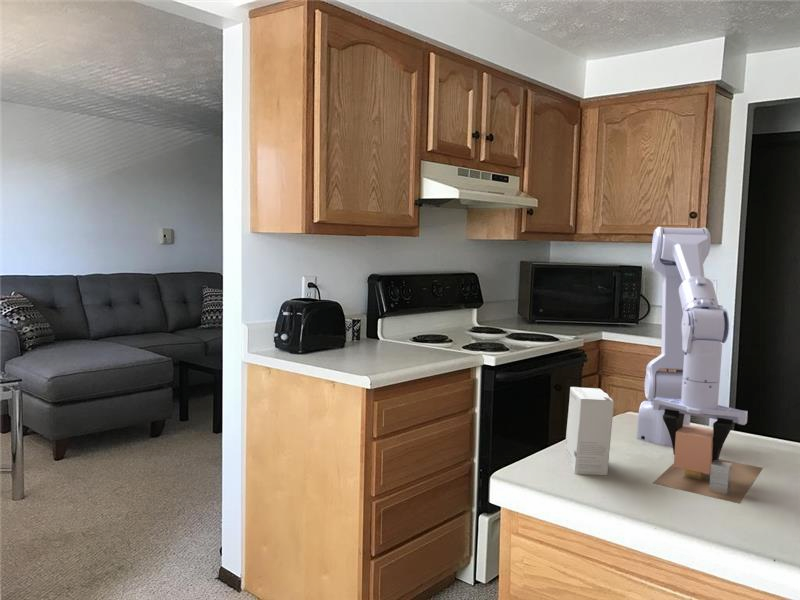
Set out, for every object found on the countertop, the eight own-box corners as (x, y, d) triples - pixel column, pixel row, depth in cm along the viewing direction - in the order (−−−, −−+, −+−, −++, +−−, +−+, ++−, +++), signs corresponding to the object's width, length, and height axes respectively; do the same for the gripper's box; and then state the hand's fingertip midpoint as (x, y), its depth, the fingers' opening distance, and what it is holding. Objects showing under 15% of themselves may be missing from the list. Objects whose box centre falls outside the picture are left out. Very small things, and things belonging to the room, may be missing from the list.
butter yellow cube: (684, 475, 114) (686, 450, 113) (688, 471, 116) (689, 446, 115) (700, 479, 112) (702, 453, 112) (704, 475, 114) (706, 449, 114)
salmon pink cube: (673, 466, 113) (675, 431, 113) (682, 458, 118) (684, 425, 117) (709, 474, 110) (711, 438, 110) (716, 465, 115) (719, 431, 114)
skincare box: (563, 466, 122) (567, 386, 120) (596, 467, 122) (600, 386, 120) (574, 483, 113) (579, 397, 112) (610, 484, 113) (615, 398, 112)
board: (651, 491, 110) (652, 482, 110) (685, 460, 127) (685, 452, 127) (738, 512, 102) (739, 503, 102) (761, 475, 119) (762, 467, 119)
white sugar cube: (709, 491, 107) (711, 464, 106) (712, 486, 109) (714, 460, 109) (726, 495, 105) (728, 467, 105) (730, 490, 107) (732, 463, 107)
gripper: (649, 376, 114) (645, 454, 115) (744, 389, 105) (737, 473, 106) (661, 370, 119) (657, 444, 121) (752, 382, 111) (746, 462, 112)
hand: (695, 457), depth 114 cm, fingers closed on salmon pink cube, 5 cm apart
